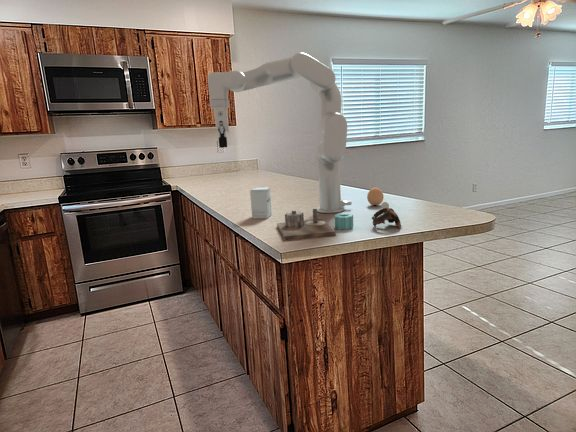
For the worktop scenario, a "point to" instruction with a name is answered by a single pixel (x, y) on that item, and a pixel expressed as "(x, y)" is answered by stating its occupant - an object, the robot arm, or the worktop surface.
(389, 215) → the brown arched figurine
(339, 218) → the teal gear
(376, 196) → the egg
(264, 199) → the supplement box
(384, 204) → the pacifier
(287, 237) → the gear board
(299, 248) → the worktop surface
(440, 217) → the worktop surface
